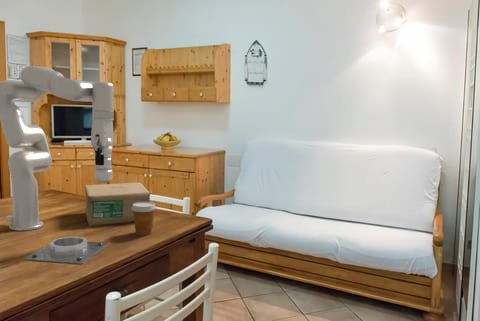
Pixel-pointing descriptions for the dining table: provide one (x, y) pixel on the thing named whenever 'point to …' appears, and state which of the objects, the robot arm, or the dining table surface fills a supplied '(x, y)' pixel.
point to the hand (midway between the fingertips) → (103, 163)
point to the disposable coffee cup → (143, 217)
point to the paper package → (113, 202)
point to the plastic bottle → (105, 164)
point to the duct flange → (67, 250)
